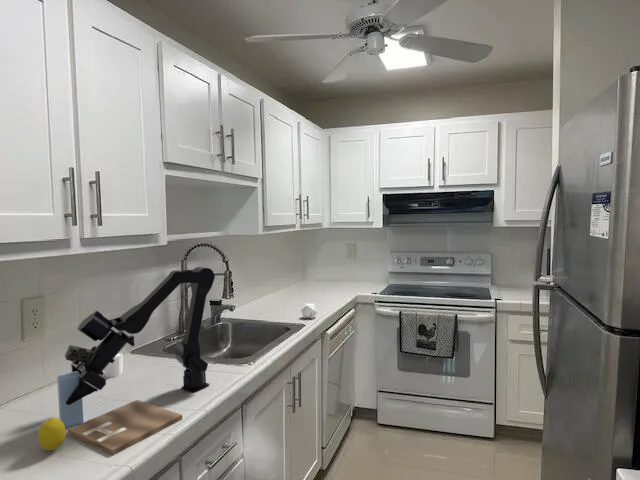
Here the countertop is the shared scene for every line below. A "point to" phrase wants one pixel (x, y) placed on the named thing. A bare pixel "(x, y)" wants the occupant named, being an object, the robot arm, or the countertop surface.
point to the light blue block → (65, 388)
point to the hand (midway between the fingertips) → (64, 398)
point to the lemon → (51, 434)
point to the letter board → (124, 426)
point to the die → (309, 311)
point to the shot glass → (114, 366)
